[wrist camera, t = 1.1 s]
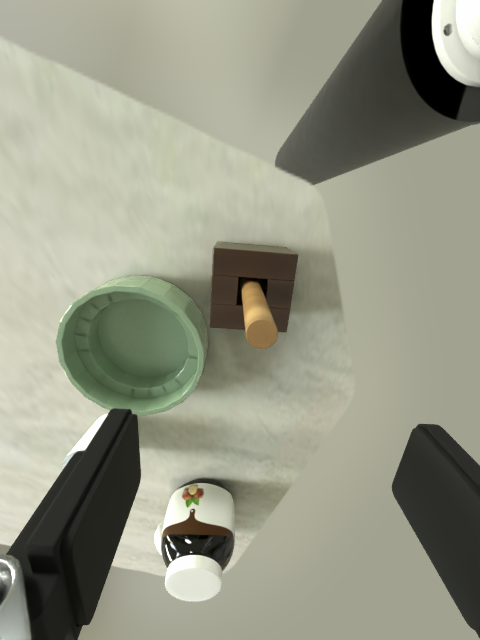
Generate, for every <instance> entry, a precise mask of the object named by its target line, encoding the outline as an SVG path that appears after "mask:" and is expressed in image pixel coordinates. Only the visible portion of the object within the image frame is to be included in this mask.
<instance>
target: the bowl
mask: <svg viewBox="0 0 480 640" xmlns="http://www.w3.org/2000/svg"><path fill="white" fill-rule="evenodd" d="M56 345H57V351H58V357H59V362H60V364H61V366H62V368H63V370H64V372H65V374H66V376H67V377H68V379H69V381H70V382H71V383H72V384H73V385H74V386H75V387H76V388H77V389H78V390H79V391H80V392H81V393H82V394H83V395H84V396H85V397H86V398H88V399H89V400H91V401H93V402H94V403H96V404H98V405H99V406H101V407H103V408H105V409H109V410H111V409H113V408H119V409H131V411H132V414H137V415H150V414H155V413H160V412H164V411H167V410H169V409H171V408H172V407H174V406H176V405H178V404H180V403H182V402H183V401H184V400H185V399H186V398H187V397H188V396H189V395H190V394H191V393H192V392H193V391H194V389H195V388H196V387H197V384H198V382H199V379H200V377H201V375H202V372H203V369H204V364H205V359H206V354H207V346H208V331H207V328H206V324H205V321H204V318H203V315H202V313H201V312H200V310H199V309H198V307H197V306H196V305H195V303H194V302H193V300H192V299H191V298H190V297H189V296H188V295H186V294H185V293H184V292H183V291H181V290H180V289H179V288H177V287H176V286H175V285H173V284H171V283H168V282H165V281H163V280H160V279H158V278H155V277H150V276H137V275H130V276H126V277H122V278H118V279H114V280H111V281H109V282H107V283H105V284H103V285H101V286H99V287H97V288H95V289H94V290H92V291H90V292H88V293H87V294H85V295H84V296H82V297H81V298H79V299H78V300H76V301H75V302H73V303H72V304H71V306H70V307H69V309H68V310H67V312H66V313H65V315H64V316H63V317H62V319H61V320H60V324H59V329H58V334H57V338H56Z"/></svg>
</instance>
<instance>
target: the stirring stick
mask: <svg viewBox="0 0 480 640" xmlns="http://www.w3.org/2000/svg"><path fill="white" fill-rule="evenodd" d="M240 281H241V292H242V302H243V312H244V322H245V332H246V339H247V341H248V342H249V344H250V345H252V346H253V347H255V348H260V349H263V348H267V347H270V346H271V345H272V344H274V342H275V341H276V339H277V336H278V330H277V327H276V325H275V322H274V319H273V317H272V314H271V311H270V309H269V306H268V304H267V301H266V298H265V296H264V293H263V290H262V288H261V285H260V283H259V280H258V278H248V277H241V278H240Z"/></svg>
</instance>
